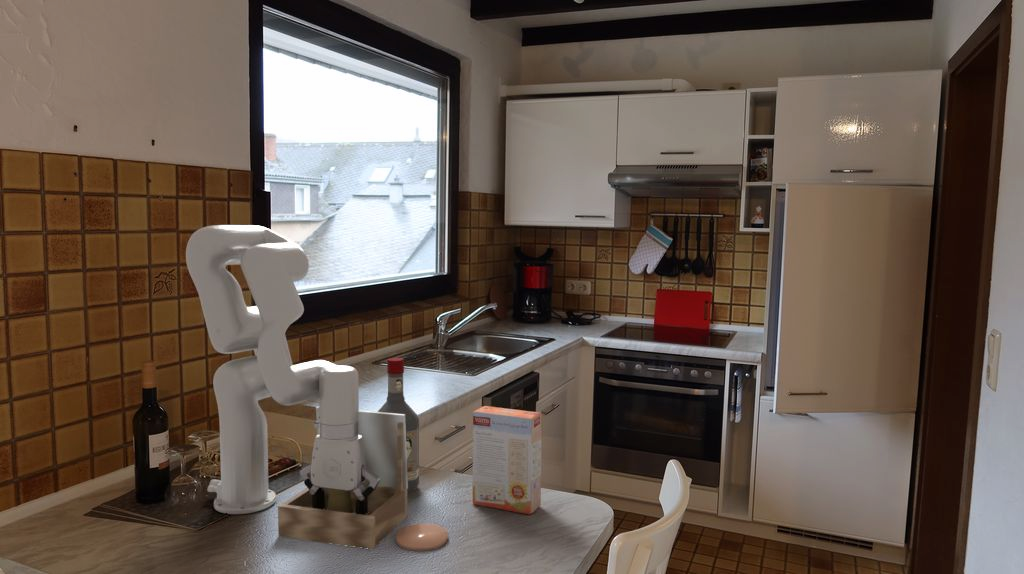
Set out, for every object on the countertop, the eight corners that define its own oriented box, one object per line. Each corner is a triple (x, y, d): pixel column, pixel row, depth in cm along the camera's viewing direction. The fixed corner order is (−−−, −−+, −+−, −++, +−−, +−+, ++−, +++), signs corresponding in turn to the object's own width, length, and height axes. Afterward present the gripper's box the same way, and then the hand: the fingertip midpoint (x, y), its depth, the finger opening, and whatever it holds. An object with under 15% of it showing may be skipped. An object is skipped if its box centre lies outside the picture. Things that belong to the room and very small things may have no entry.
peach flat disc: (386, 546, 137) (386, 541, 137) (408, 525, 147) (408, 520, 147) (436, 553, 135) (436, 548, 134) (455, 531, 144) (455, 526, 144)
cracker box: (541, 506, 158) (543, 411, 156) (530, 516, 152) (532, 418, 150) (484, 495, 164) (484, 403, 162) (471, 504, 158) (472, 410, 156)
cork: (347, 538, 141) (347, 483, 140) (319, 535, 142) (318, 480, 141) (360, 525, 147) (360, 472, 146) (332, 522, 148) (332, 469, 147)
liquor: (368, 486, 168) (368, 358, 165) (404, 478, 173) (404, 354, 171) (386, 498, 161) (386, 364, 158) (423, 490, 166) (423, 360, 163)
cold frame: (278, 536, 141) (276, 425, 139) (322, 504, 157) (320, 404, 155) (372, 549, 136) (371, 435, 134) (407, 515, 152) (407, 412, 149)
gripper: (289, 430, 141) (290, 516, 143) (370, 439, 136) (371, 528, 138) (310, 420, 148) (311, 502, 150) (388, 428, 144) (388, 512, 145)
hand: (339, 514), depth 144 cm, fingers open, 8 cm apart
